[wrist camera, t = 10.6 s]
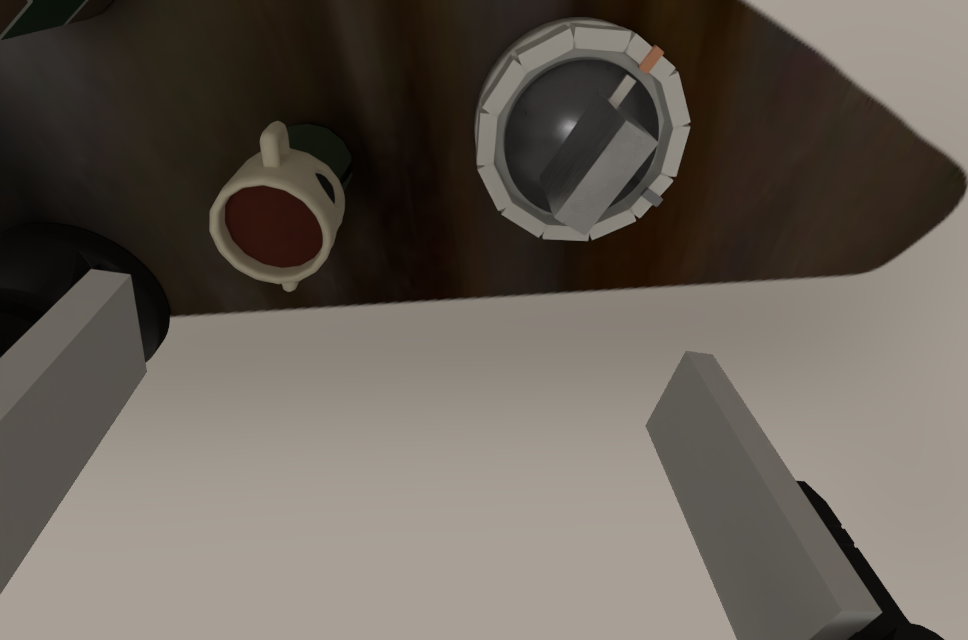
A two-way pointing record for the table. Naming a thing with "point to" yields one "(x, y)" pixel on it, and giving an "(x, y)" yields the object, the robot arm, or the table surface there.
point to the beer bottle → (44, 14)
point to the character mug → (283, 205)
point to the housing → (546, 50)
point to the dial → (580, 139)
